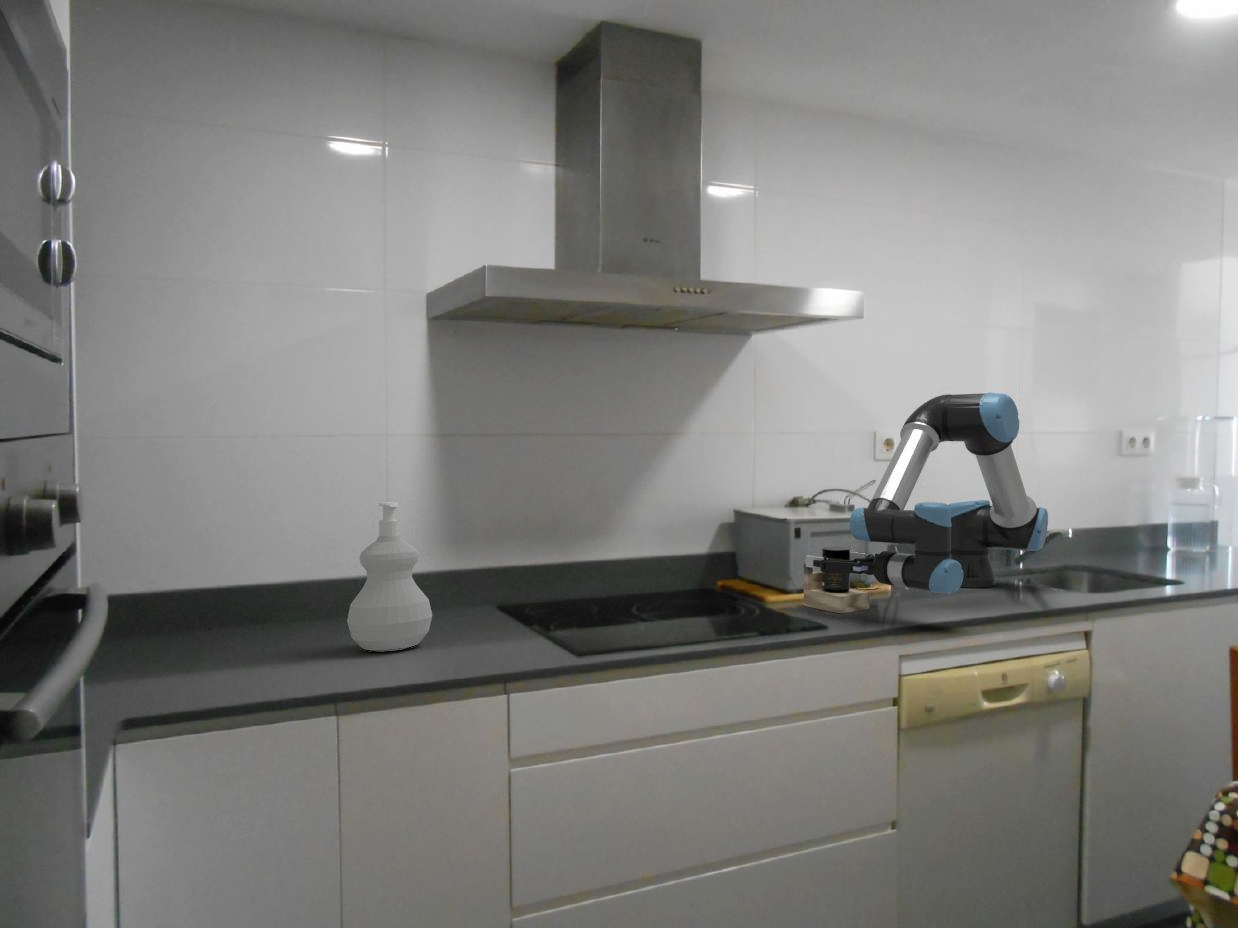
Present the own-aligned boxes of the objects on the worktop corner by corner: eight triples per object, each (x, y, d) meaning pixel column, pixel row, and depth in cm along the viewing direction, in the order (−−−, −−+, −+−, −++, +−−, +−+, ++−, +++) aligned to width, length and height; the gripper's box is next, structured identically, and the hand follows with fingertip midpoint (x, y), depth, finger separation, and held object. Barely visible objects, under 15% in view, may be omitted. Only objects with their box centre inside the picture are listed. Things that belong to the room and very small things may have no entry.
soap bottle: (355, 660, 173) (353, 506, 171) (341, 647, 183) (338, 502, 181) (440, 648, 181) (438, 502, 180) (422, 637, 191) (420, 498, 190)
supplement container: (854, 593, 218) (854, 549, 218) (826, 593, 217) (826, 550, 217) (845, 588, 225) (845, 546, 224) (818, 588, 224) (818, 546, 224)
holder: (831, 601, 229) (831, 560, 229) (869, 608, 219) (869, 565, 219) (803, 605, 223) (803, 563, 223) (840, 613, 214) (841, 569, 213)
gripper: (859, 591, 199) (789, 578, 217) (930, 580, 213) (860, 569, 231) (859, 557, 199) (789, 547, 216) (931, 548, 213) (860, 539, 231)
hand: (826, 558), depth 224 cm, fingers open, 13 cm apart
